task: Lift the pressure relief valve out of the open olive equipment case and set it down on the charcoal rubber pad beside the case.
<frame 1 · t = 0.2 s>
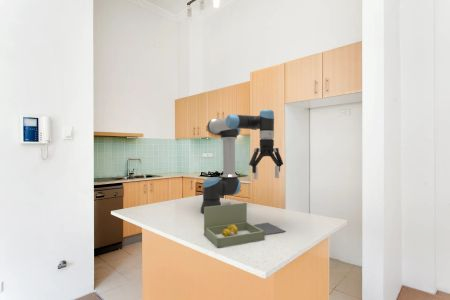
hand: (266, 178, 131), 27 cm above the countertop, fingers open, 13 cm apart
pressure relief valve: (235, 239, 118), resting in case
case: (234, 237, 119), on the countertop
pad: (266, 229, 132), on the countertop
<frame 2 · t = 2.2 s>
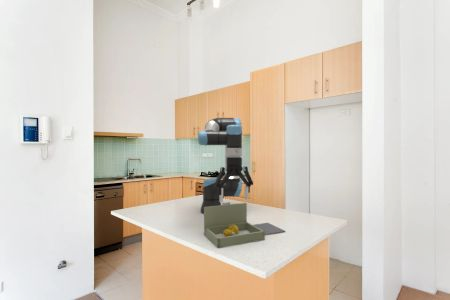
hand: (234, 200, 119), 18 cm above the countertop, fingers open, 13 cm apart
nothing on the countertop moved.
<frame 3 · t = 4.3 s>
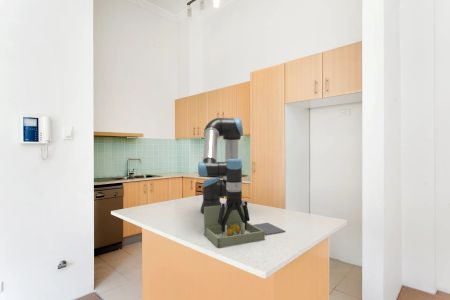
hand: (233, 237, 119), 0 cm above the countertop, fingers closed on pressure relief valve, 9 cm apart
pressure relief valve: (238, 238, 119), resting in case, touching gripper
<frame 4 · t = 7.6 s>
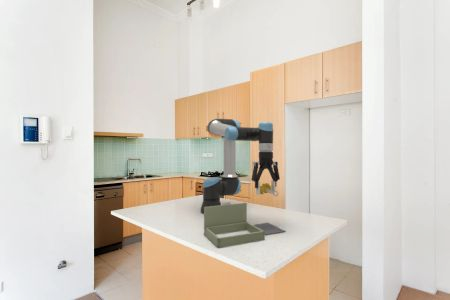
hand: (265, 193, 130), 19 cm above the countertop, fingers closed on pressure relief valve, 9 cm apart
pressure relief valve: (269, 194, 130), point 19 cm above the countertop, touching gripper
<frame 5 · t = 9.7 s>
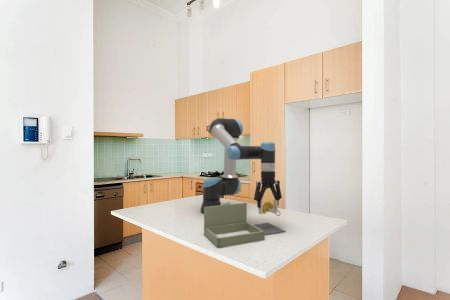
hand: (268, 212, 131), 9 cm above the countertop, fingers closed on pressure relief valve, 9 cm apart
pressure relief valve: (272, 214, 131), point 8 cm above the countertop, touching gripper
when the fingers open (4 cm above the countertop, at t = 11.1 s): pressure relief valve drops 3 cm, resting on pad.
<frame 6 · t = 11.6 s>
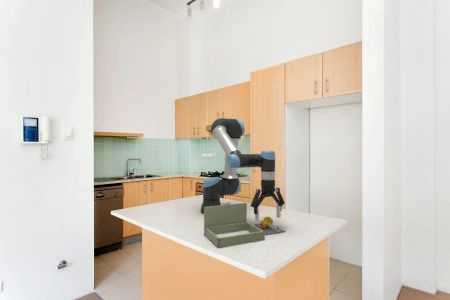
hand: (268, 218, 131), 6 cm above the countertop, fingers open, 13 cm apart
pressure relief valve: (271, 229, 131), resting on pad
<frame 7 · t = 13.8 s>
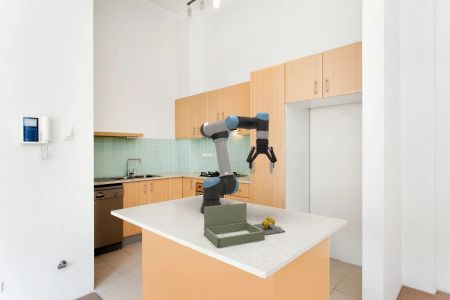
hand: (261, 173, 147), 28 cm above the countertop, fingers open, 13 cm apart
pressure relief valve: (273, 229, 130), resting on pad
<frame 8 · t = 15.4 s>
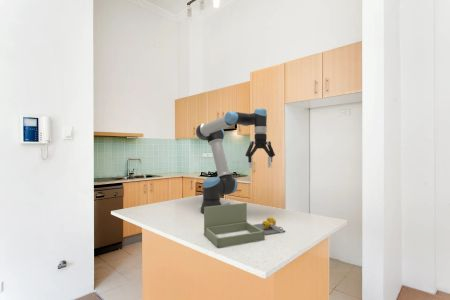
hand: (260, 167, 153), 32 cm above the countertop, fingers open, 13 cm apart
nothing on the countertop moved.
at the end: pressure relief valve inside the target area on the pad (4.5 cm from its centre), point 0.4 cm above the pad's base; pressure relief valve touching pad; the gripper is holding nothing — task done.
